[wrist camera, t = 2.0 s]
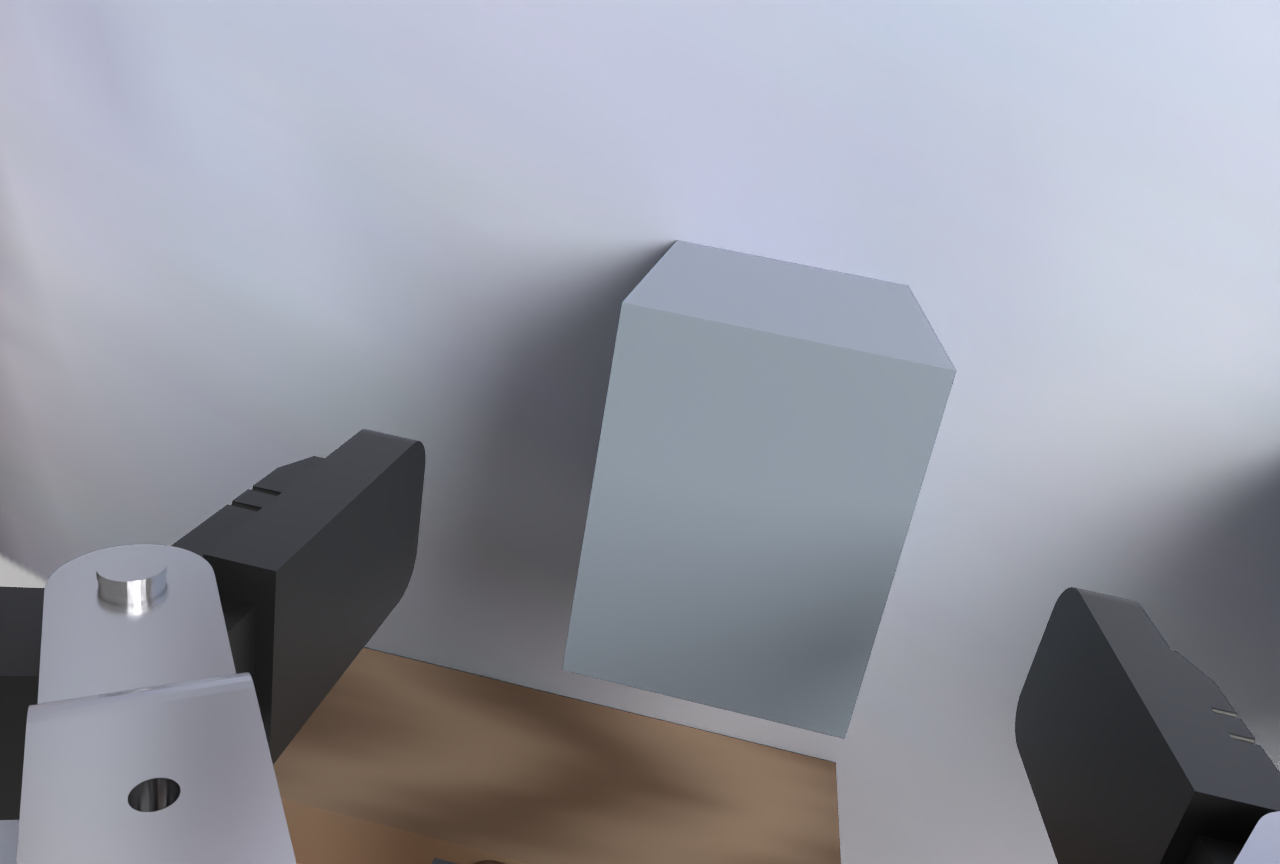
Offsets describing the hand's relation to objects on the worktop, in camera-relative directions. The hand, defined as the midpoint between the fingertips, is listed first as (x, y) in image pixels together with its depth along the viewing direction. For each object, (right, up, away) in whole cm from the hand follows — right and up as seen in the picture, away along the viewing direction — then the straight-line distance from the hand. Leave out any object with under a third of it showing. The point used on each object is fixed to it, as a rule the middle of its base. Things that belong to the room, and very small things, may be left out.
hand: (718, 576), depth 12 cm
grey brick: (+1, +2, +7) cm, 8 cm away
